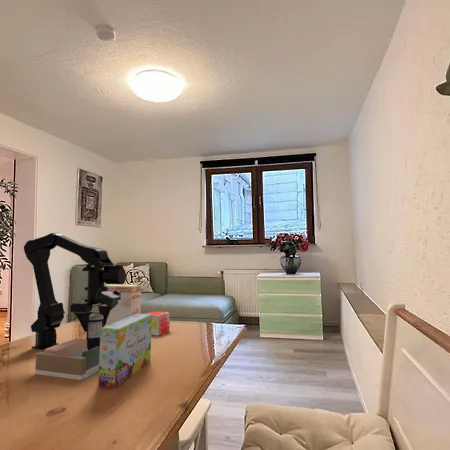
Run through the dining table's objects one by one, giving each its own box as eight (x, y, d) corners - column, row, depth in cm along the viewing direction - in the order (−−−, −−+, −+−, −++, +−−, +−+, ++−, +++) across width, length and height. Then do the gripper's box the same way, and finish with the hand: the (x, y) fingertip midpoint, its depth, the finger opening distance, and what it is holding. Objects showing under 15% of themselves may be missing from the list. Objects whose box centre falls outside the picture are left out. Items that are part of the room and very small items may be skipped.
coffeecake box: (141, 329, 149) (141, 284, 150) (130, 332, 142) (131, 286, 144) (114, 326, 155) (115, 283, 156) (103, 329, 148) (104, 285, 150)
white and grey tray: (35, 373, 96) (35, 353, 96) (80, 354, 113) (80, 337, 113) (81, 380, 91) (81, 358, 91) (121, 359, 108) (121, 341, 108)
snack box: (117, 389, 85) (118, 328, 86) (97, 388, 86) (98, 327, 87) (152, 361, 105) (152, 313, 106) (135, 360, 107) (136, 312, 108)
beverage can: (107, 348, 120) (107, 314, 120) (94, 353, 114) (95, 317, 115) (95, 346, 122) (95, 313, 123) (82, 351, 117) (83, 316, 118)
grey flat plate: (81, 370, 94) (82, 352, 95) (108, 357, 106) (109, 341, 106) (84, 371, 94) (85, 352, 95) (111, 357, 106) (111, 341, 106)
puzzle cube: (143, 333, 141) (143, 314, 142) (153, 329, 148) (154, 311, 149) (159, 335, 138) (159, 315, 139) (169, 331, 145) (169, 312, 146)
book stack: (43, 367, 98) (43, 349, 98) (75, 353, 110) (76, 338, 110) (55, 368, 96) (56, 350, 97) (87, 355, 109) (87, 339, 109)
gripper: (97, 287, 108) (96, 337, 107) (130, 282, 126) (130, 324, 125) (69, 286, 112) (68, 334, 111) (105, 281, 130) (104, 322, 128)
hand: (95, 328), depth 119 cm, fingers open, 9 cm apart
